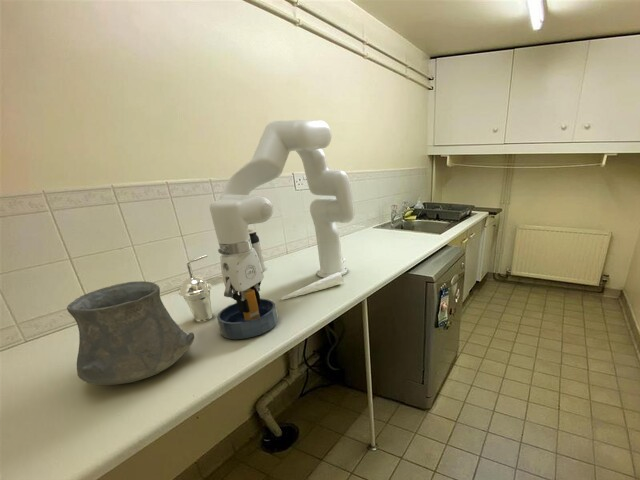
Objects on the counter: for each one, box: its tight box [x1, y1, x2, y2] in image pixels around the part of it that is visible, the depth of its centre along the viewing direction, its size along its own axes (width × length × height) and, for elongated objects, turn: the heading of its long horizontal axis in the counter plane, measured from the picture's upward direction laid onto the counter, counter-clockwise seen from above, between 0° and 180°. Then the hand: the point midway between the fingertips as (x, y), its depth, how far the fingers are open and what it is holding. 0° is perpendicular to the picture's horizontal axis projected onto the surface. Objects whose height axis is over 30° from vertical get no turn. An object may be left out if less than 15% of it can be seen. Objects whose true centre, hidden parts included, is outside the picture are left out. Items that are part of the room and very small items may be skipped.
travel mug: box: [248, 228, 266, 272], centre depth 134 cm, size 8×8×18 cm
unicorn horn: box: [280, 272, 344, 301], centre depth 115 cm, size 5×24×5 cm, turn 126°
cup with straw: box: [178, 254, 213, 323], centre depth 95 cm, size 8×9×20 cm
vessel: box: [66, 280, 195, 386], centre depth 72 cm, size 22×22×20 cm
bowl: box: [216, 298, 279, 340], centre depth 92 cm, size 15×15×6 cm
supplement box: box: [238, 289, 260, 321], centre depth 89 cm, size 3×3×10 cm
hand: (250, 307), depth 90 cm, fingers closed on supplement box, 4 cm apart
